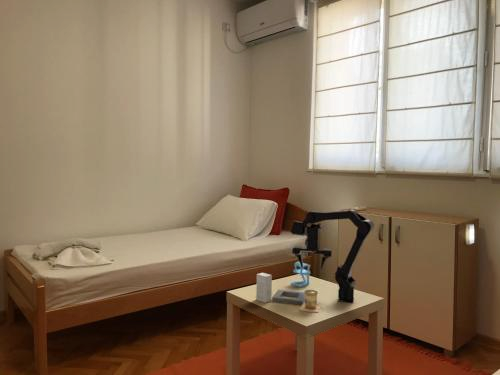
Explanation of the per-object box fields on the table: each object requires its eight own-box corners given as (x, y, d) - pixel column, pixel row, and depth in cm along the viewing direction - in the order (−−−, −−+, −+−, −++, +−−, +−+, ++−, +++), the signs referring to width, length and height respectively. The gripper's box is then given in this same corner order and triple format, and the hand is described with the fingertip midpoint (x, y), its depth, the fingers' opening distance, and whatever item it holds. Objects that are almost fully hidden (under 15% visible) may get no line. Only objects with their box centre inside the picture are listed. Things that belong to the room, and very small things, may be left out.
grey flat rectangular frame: (307, 296, 191) (307, 292, 191) (302, 305, 180) (302, 301, 180) (278, 293, 196) (278, 289, 195) (272, 301, 184) (272, 297, 184)
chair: (312, 285, 209) (313, 262, 209) (300, 287, 205) (300, 264, 204) (302, 281, 216) (303, 259, 215) (290, 283, 211) (291, 260, 211)
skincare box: (271, 300, 185) (272, 275, 184) (265, 303, 182) (266, 276, 181) (262, 297, 189) (262, 272, 188) (255, 299, 186) (256, 273, 185)
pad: (321, 306, 178) (321, 305, 178) (318, 312, 171) (318, 311, 171) (303, 304, 181) (303, 303, 181) (299, 310, 173) (299, 309, 173)
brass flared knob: (318, 306, 178) (318, 290, 177) (316, 310, 172) (316, 294, 172) (305, 304, 179) (305, 289, 179) (303, 308, 174) (303, 293, 174)
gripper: (333, 235, 200) (332, 266, 201) (296, 232, 205) (295, 263, 206) (331, 239, 189) (330, 272, 190) (292, 236, 194) (291, 268, 195)
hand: (311, 268), depth 196 cm, fingers open, 9 cm apart
